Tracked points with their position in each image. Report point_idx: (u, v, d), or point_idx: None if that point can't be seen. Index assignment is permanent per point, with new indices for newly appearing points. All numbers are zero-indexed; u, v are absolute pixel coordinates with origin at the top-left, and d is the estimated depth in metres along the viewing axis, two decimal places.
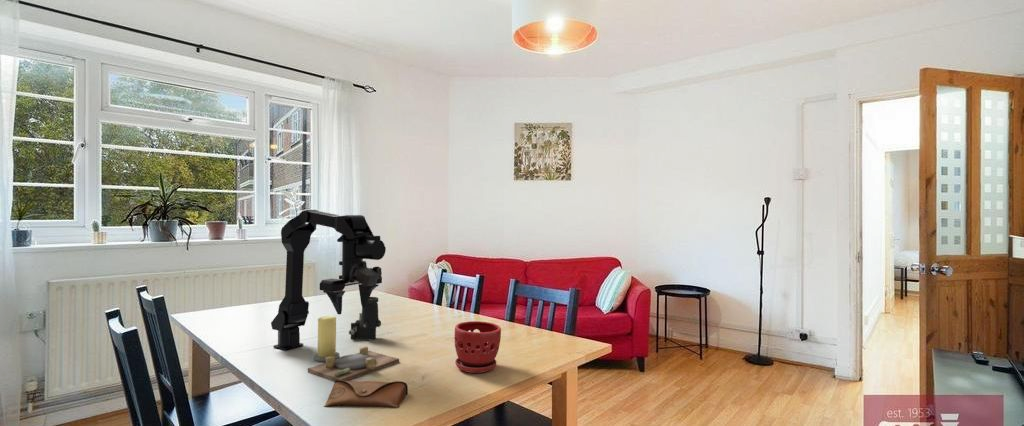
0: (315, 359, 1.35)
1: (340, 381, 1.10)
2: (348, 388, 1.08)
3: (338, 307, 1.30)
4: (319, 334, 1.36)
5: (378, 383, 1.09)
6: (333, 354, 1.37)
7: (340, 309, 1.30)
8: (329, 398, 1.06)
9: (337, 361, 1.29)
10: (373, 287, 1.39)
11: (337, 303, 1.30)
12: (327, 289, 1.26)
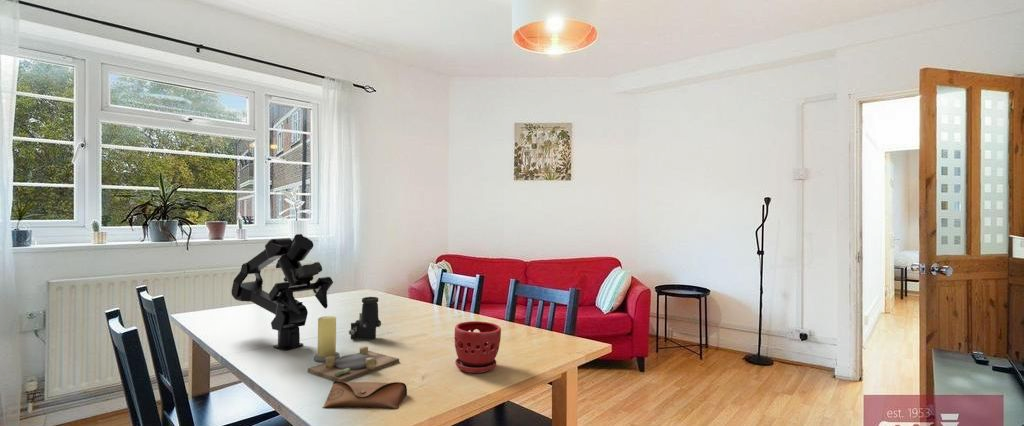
0: (315, 359, 1.35)
1: (339, 382, 1.10)
2: (346, 389, 1.08)
3: (294, 306, 1.37)
4: (319, 334, 1.36)
5: (377, 383, 1.09)
6: (333, 354, 1.37)
7: (297, 307, 1.38)
8: (328, 399, 1.05)
9: (337, 361, 1.29)
10: (325, 286, 1.48)
11: (291, 303, 1.38)
12: (274, 292, 1.36)
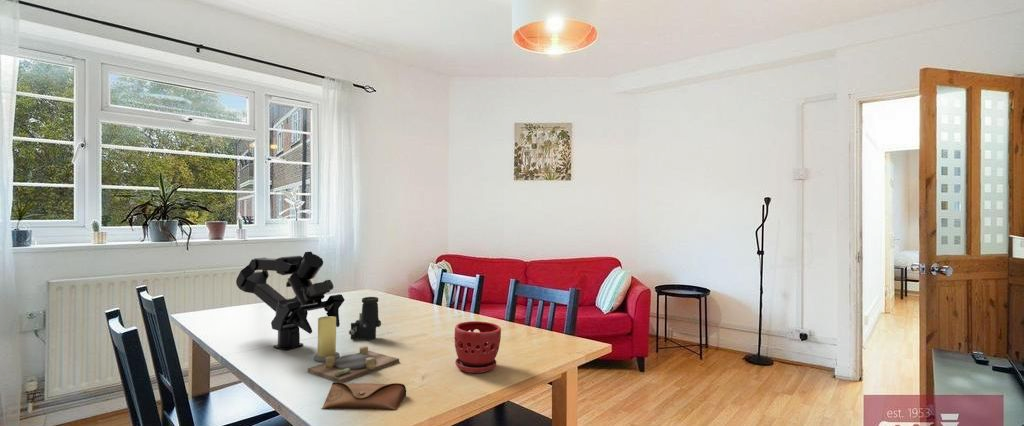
0: (315, 359, 1.35)
1: (338, 383, 1.09)
2: (345, 390, 1.07)
3: (306, 326, 1.34)
4: (319, 334, 1.36)
5: (376, 385, 1.08)
6: (333, 354, 1.37)
7: (309, 327, 1.34)
8: (326, 400, 1.05)
9: (337, 361, 1.29)
10: (336, 304, 1.44)
11: (303, 323, 1.34)
12: (285, 312, 1.33)
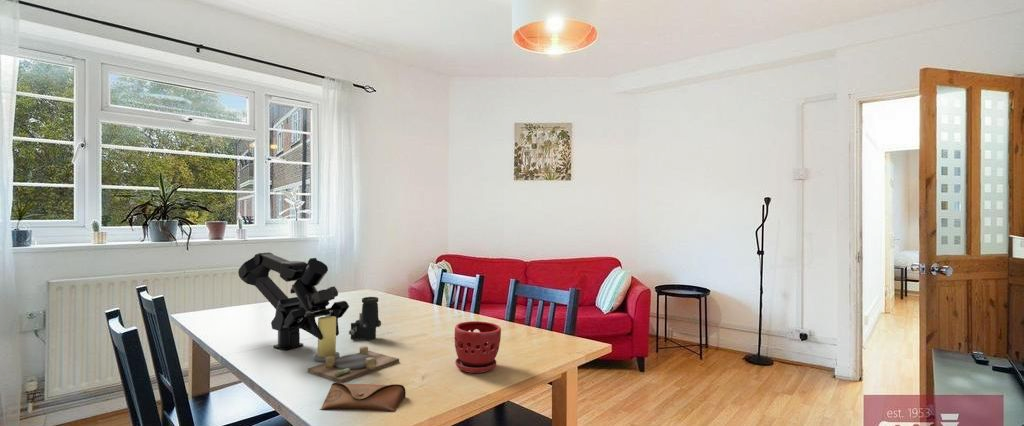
0: (315, 359, 1.35)
1: (337, 384, 1.09)
2: (344, 391, 1.07)
3: (317, 332, 1.34)
4: None
5: (375, 385, 1.08)
6: (333, 354, 1.37)
7: (319, 333, 1.35)
8: (325, 401, 1.04)
9: (337, 361, 1.29)
10: (336, 312, 1.42)
11: (314, 329, 1.35)
12: (290, 320, 1.32)
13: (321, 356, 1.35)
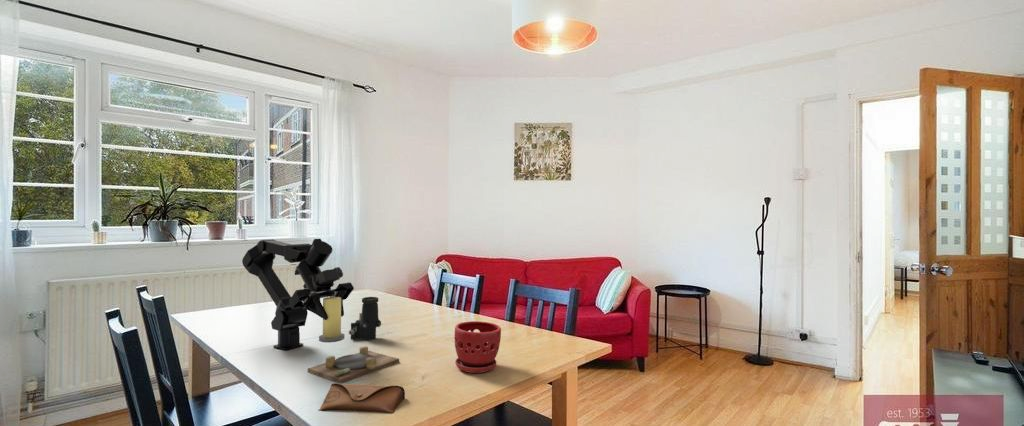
0: (320, 339, 1.34)
1: (336, 384, 1.08)
2: (343, 391, 1.06)
3: (322, 312, 1.33)
4: None
5: (374, 387, 1.07)
6: (338, 335, 1.35)
7: (324, 313, 1.33)
8: (324, 402, 1.04)
9: (337, 361, 1.29)
10: (340, 293, 1.40)
11: (319, 309, 1.33)
12: (295, 300, 1.30)
13: (326, 336, 1.34)
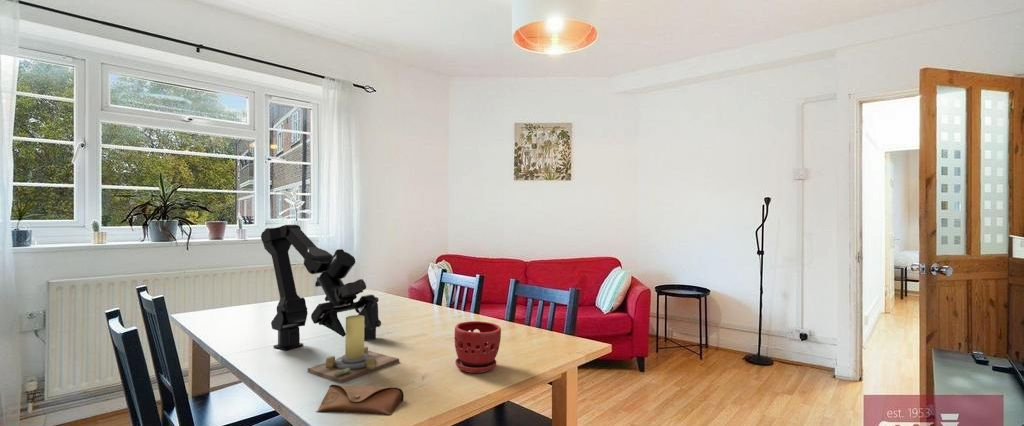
0: (343, 361, 1.28)
1: (335, 385, 1.07)
2: (341, 393, 1.05)
3: (340, 328, 1.26)
4: (347, 334, 1.28)
5: (373, 388, 1.06)
6: (361, 355, 1.30)
7: (342, 329, 1.26)
8: (322, 403, 1.03)
9: (337, 361, 1.29)
10: (369, 305, 1.36)
11: (336, 325, 1.26)
12: (318, 314, 1.25)
13: (349, 357, 1.28)
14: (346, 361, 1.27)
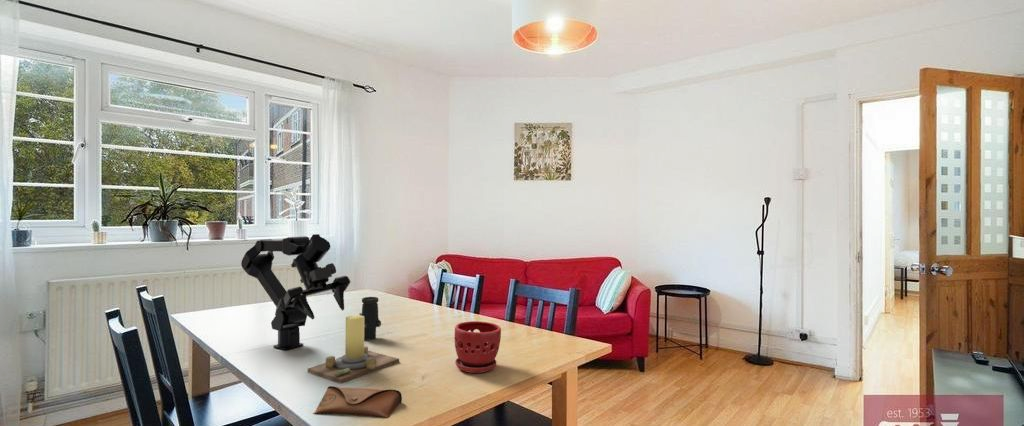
0: (343, 360, 1.28)
1: (332, 387, 1.06)
2: (339, 395, 1.04)
3: (308, 312, 1.34)
4: (347, 334, 1.28)
5: (370, 390, 1.05)
6: (361, 355, 1.30)
7: (311, 313, 1.34)
8: (319, 405, 1.02)
9: (337, 361, 1.29)
10: (341, 287, 1.42)
11: (305, 309, 1.34)
12: (287, 299, 1.33)
13: (349, 357, 1.28)
14: (346, 361, 1.27)
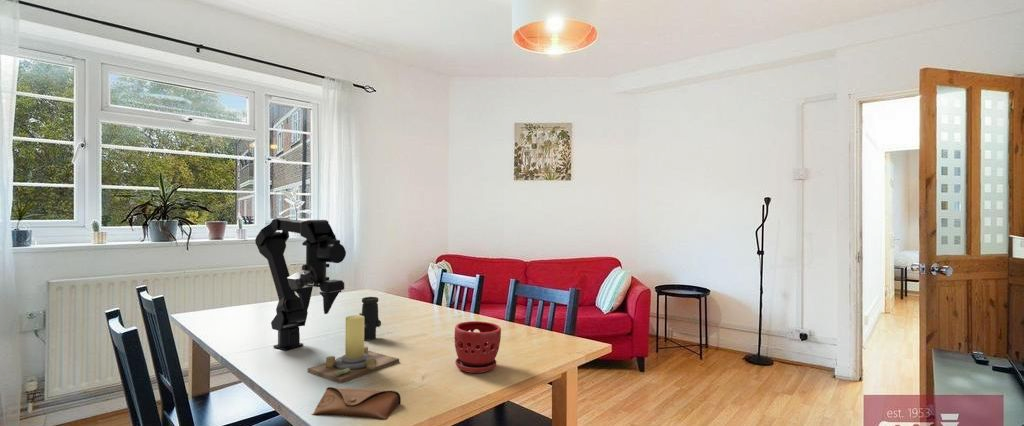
0: (343, 361, 1.28)
1: (331, 388, 1.06)
2: (338, 396, 1.04)
3: None
4: (347, 334, 1.28)
5: (369, 391, 1.04)
6: (361, 355, 1.30)
7: (302, 305, 1.43)
8: (318, 406, 1.02)
9: (337, 361, 1.29)
10: (322, 294, 1.36)
11: None
12: None
13: (349, 357, 1.28)
14: (346, 361, 1.27)
